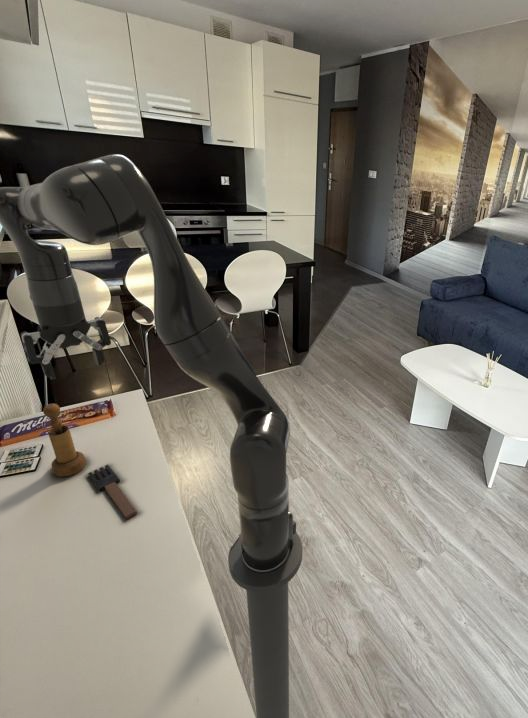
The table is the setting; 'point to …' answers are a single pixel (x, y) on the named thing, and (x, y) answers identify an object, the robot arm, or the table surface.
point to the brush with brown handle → (113, 490)
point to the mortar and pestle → (62, 445)
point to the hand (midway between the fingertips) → (76, 370)
